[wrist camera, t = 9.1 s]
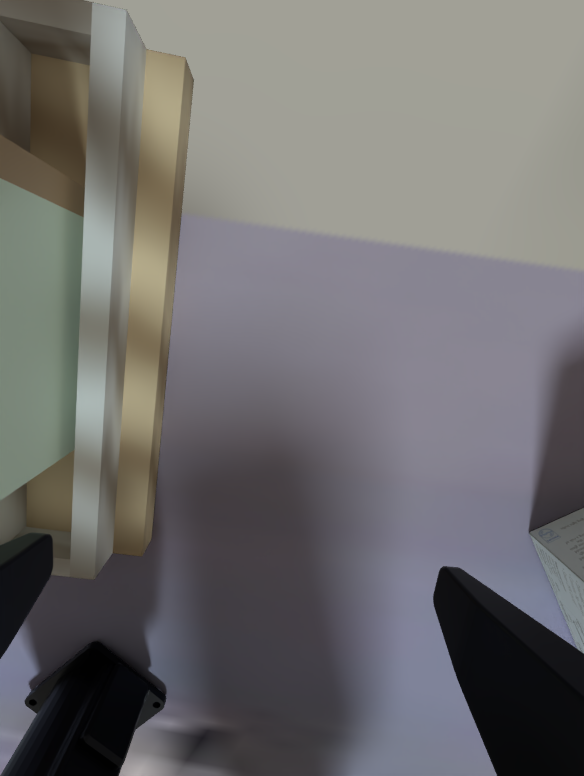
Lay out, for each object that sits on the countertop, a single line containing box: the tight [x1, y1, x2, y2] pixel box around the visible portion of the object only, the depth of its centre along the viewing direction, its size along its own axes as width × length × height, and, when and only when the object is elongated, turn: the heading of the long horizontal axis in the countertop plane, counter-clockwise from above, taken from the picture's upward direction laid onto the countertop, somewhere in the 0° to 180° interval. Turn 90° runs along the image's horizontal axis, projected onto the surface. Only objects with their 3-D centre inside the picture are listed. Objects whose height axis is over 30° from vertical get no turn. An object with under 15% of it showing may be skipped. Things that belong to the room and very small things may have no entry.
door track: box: [0, 0, 194, 580], centre depth 17 cm, size 24×9×4 cm, turn 171°
